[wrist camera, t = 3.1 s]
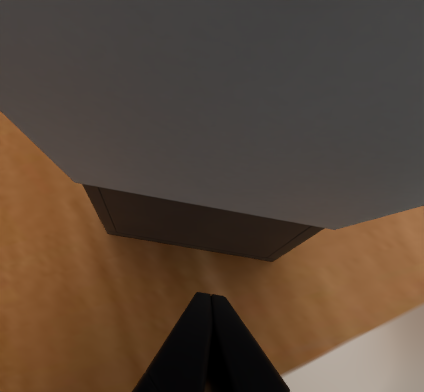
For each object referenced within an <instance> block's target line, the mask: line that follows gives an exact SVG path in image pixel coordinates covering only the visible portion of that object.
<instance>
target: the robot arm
mask: <svg viewBox="0 0 424 392" xmlns="http://www.w3.org/2000/svg"><path fill="white" fill-rule="evenodd" d="M132 392H290V389H289V388H288V386H287V385H286V383H285V382H284V381H283V379H282V377H281V376H280V375H279V373H278V372H277V370H276V369H275V367H274V366H273V365H272V363H271V362H270V360H269V359H268V357H267V356H266V355H265V353H264V352H263V350H262V349H261V347H260V346H259V345H258V343H257V342H256V340H255V339H254V337H253V336H252V334H251V333H250V332H249V330H248V329H247V327H246V326H245V324H244V323H243V322H242V320H241V319H240V317H239V316H238V314H237V313H236V312H235V310H234V309H233V307H232V306H231V304H230V303H229V301H228V300H227V299H226V297H224V296H220V295H214V294H212V295H211V296H210V294H208V293H201V292H197V293H196V294H195V295H194V297H193V298H192V300H191V301H190V303H189V305H188V306H187V308H186V309H185V311H184V312H183V314H182V315H181V317H180V319H179V320H178V322H177V323H176V325H175V326H174V328H173V329H172V331H171V333H170V334H169V336H168V337H167V339H166V340H165V342H164V343H163V345H162V347H161V348H160V350H159V351H158V353H157V354H156V356H155V357H154V359H153V360H152V362H151V364H150V365H149V367H148V368H147V370H146V372H145V373H144V374H143V376H142V377H141V379H140V380H139V382H138V383H137V385H136V386H135V388H134V389H133V391H132Z"/></svg>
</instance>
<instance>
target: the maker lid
mask: <svg viewBox="0 0 424 392" xmlns="http://www.w3.org/2000/svg"><path fill="white" fill-rule="evenodd" d="M0 111H1V112H2V113H3V114H4V115H5V116H6V117H7V118H8V119H9V120H11V121H12V122H13V123H14V124H15V125H16V126H17V127H18V128H19V129H20V130H21V131H22V132H23V133H24V134H25V135H26V136H27V137H28V138H29V139H30V140H31V141H32V142H33V143H34V144H35V145H36V146H38V147H39V148H40V149H41V150H42V151H43V152H44V153H45V154H46V155H47V156H48V157H49V158H50V159H51V160H52V161H53V162H54V163H55V164H56V165H57V166H58V167H59V168H60V169H61V170H62V171H63V172H65V173H66V174H67V175H68V176H69V177H70V178H71V179H72V180H73V181H74V182H75V183H80V184H86V185H91V186H97V187H102V188H108V189H113V190H119V191H124V192H130V193H135V194H141V195H146V196H152V197H157V198H163V199H168V200H174V201H179V202H185V203H190V204H196V205H201V206H207V207H212V208H218V209H223V210H229V211H234V212H240V213H245V214H251V215H256V216H262V217H267V218H273V219H278V220H284V221H289V222H294V223H300V224H305V225H311V226H316V227H322V228H327V229H333V230H336V229H339V228H343V227H347V226H350V225H354V224H358V223H361V222H365V221H369V220H372V219H376V218H380V217H383V216H387V215H391V214H394V213H398V212H402V211H405V210H409V209H413V208H416V207H420V206H424V0H0Z"/></svg>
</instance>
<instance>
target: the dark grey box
mask: <svg viewBox="0 0 424 392" xmlns="http://www.w3.org/2000/svg"><path fill="white" fill-rule="evenodd" d="M82 185H83V187H84V189H85V191H86V193H87V194H88V196H89V198H90V200H91V202H92V204H93V206H94V208H95V210H96V212H97V214H98V216H99V218H100V220H101V222H102V224H103V226H104V228H105V230H106V232H107V233H108V234H112V235H118V236H124V237H130V238H136V239H142V240H148V241H153V242H159V243H165V244H171V245H177V246H183V247H189V248H195V249H201V250H206V251H212V252H218V253H224V254H230V255H236V256H242V257H248V258H254V259H260V260H265V261H271V262H273V261H275V260H276V259H278V258H279V257H281V256H282V255H284V254H285V253H287V252H289V251H290V250H292V249H293V248H295V247H296V246H298V245H299V244H301V243H302V242H304V241H306V240H307V239H309V238H310V237H312V236H313V235H315V234H316V233H318V232H320V231H321V230H323V229H324V228H322V227H316V226H311V225H305V224H300V223H294V222H289V221H284V220H278V219H273V218H267V217H262V216H256V215H251V214H245V213H240V212H234V211H229V210H223V209H218V208H212V207H207V206H201V205H196V204H190V203H185V202H179V201H174V200H168V199H163V198H157V197H152V196H146V195H141V194H135V193H130V192H124V191H119V190H113V189H108V188H102V187H97V186H91V185H86V184H82Z"/></svg>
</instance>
